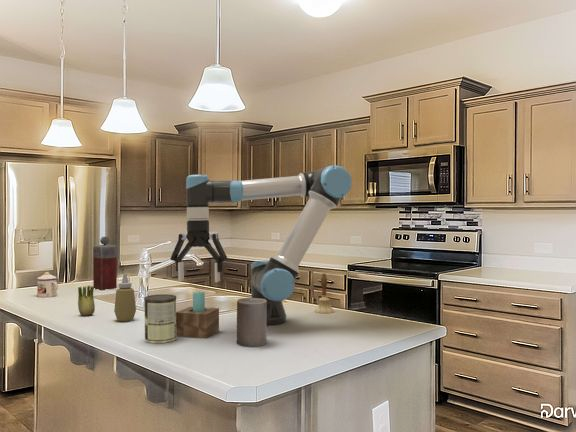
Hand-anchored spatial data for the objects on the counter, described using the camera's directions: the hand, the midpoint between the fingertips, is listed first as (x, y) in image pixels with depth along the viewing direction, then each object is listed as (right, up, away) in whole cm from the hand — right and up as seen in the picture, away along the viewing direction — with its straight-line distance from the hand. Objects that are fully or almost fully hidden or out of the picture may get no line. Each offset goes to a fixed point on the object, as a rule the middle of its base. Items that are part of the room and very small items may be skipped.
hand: (199, 281), depth 179 cm
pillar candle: (+19, -18, -12) cm, 29 cm away
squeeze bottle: (-32, -18, +21) cm, 42 cm away
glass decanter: (-69, -17, +101) cm, 123 cm away
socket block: (0, -18, 0) cm, 18 cm away
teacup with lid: (-87, -17, +76) cm, 117 cm away
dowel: (0, -18, 0) cm, 18 cm away
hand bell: (+46, -18, +39) cm, 63 cm away
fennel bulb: (-50, -18, +30) cm, 61 cm away
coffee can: (-11, -18, -8) cm, 23 cm away
